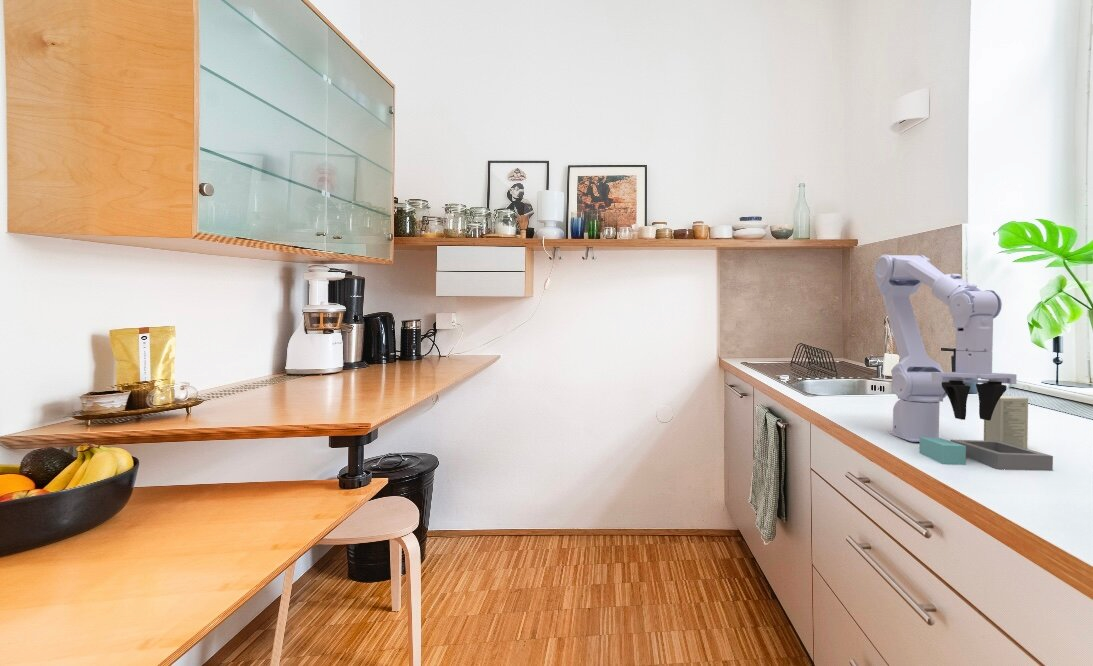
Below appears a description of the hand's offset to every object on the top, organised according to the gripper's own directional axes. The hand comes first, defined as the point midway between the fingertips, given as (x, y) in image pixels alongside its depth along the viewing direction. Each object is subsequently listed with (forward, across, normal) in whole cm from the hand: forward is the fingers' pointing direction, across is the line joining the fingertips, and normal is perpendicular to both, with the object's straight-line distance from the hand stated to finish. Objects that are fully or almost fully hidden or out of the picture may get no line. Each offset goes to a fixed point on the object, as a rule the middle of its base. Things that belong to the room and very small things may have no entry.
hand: (972, 419), depth 107 cm
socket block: (+8, +5, 0) cm, 10 cm away
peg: (+9, -6, 0) cm, 10 cm away
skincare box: (+9, +13, +10) cm, 18 cm away
